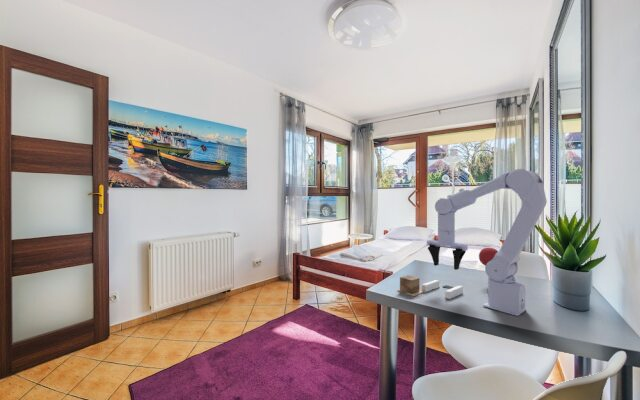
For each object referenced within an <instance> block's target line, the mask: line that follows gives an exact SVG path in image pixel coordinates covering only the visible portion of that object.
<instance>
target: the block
mask: <svg viewBox="0 0 640 400" xmlns="http://www.w3.org/2000/svg"><path fill="white" fill-rule="evenodd" d="M399 289H400V291H403V292H406V293H410V294H413V293H416V292H419V290H420V277H417V276H415V275H409V274H406V275H402V276H400V277H399Z"/></svg>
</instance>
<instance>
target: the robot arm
mask: <svg viewBox="0 0 640 400" xmlns="http://www.w3.org/2000/svg"><path fill="white" fill-rule="evenodd" d="M544 186H545V185H544V180H543V179H542V178H541V177H540V176H539V174H538V173H536V172H534V171H531V170H526V169H523V168H516V169H513V170H511V171H510V172H506V173H503V174H501V175H499V176H497V177H495V178H493V179H491V180H489V181H487V182H484V183H483V184H481V185H479V186H477V187H475V188H473V189H469V188H460V189H459V190H458V192H456V193H454V194H449V195H447V196H446V198H444V197H442V198H439V199H437V201H436V202H435V203H434V208H435V211H436V212H437V240H435V239H434V240H431V239H429V240H428V239H427V240H426V246H427V250H428V251H429V254H430V256H431V258H432V261H433V266H439V265H440V262H439V261H440V251H441V248H444V249H445V248H446V249H452V256H453V270H454V271H455V270H459V269H460V266H461V265H460V264H461V261H462V259H463V257H464V256H465V254H466V252H467V251H468V247H469V246H468V244H463V243H459V242H456V240H455V239H456V237H455V235H456V234H455V231H456V229H455V227H456V226H455V225H456V224H455V223H456V221H455V220H456V217H455V215H456V214H455V213H457V211H459V210H461V209H463V208H467V207H469V206H471V205H474V204H475V203H476V201H477V199H478V198H481V197H483V196H486V195H488V194H492V193H494V192H496V191H498V190H502V189H503V190H511V191H513V192H514V193H516V194H517V196H518V197H519V199H520V201H521V202H522V205H521V208H520V209H519V211H518V213H517V215H516V216H515V220H514V221H513V223H512V225H511V227H510V229H509V231H508V232H507V235H506V237H505V239H504V241H503V243H502V245H501V247H500V249H499V250H497V251H498V252H497V253H496V255H495V256H494V258H493V259H492V260H491V261H489V262H488V263H487V264H486V266H485V265H484V266H485V268H484V271H485V273H486V275H487V276H488V277H487V278H488V279H487V281H488V282H487V284H488V285H487V287H488V289H487V292H488V293H487V299H488V301H487V302H485V303H484V304H482V307H486V308H488V309H492V310H495V311H498V312H502V313H506V314H508V315H513V316H517V317H518V316H520V315H521V314H522V313H524V312H525V311H526V310H527V308H526V287H525V284H523V283H519V282H517V281H516V277H515V275H516V274H517V273H518V263H519V261H520V254H521V252H522V251H523V248H524V246H526V242H527V241H528V239H529V237H530V236H531V234H532V231H533V230H534V228H535V226H536V225H537V223H538V221H539V218H540V217H541V215H542V213H543V211H544V209H545V207H546V205H547V197H546V192H545V188H544Z"/></svg>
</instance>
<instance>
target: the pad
mask: <svg viewBox="0 0 640 400" xmlns="http://www.w3.org/2000/svg"><path fill="white" fill-rule="evenodd" d="M396 291H397V292H399V293H403V294H406V295H409V296H411V297H415V296H417V295H420V294H423V292H424V291H422V289H419V292H416V293H413V294H410V293H406V292H403V291H400V288H398V289H397V290H396ZM424 293H425V292H424Z"/></svg>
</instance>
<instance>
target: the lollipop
mask: <svg viewBox="0 0 640 400" xmlns="http://www.w3.org/2000/svg"><path fill="white" fill-rule="evenodd" d="M498 251H499V250H497V249H495V248H493V247H484V248H482V249H480V252H479V253H478V259H479V262H480V263H481V264H482V265H483V266H486V264H487V263H488V262H489V261H491V260H492V259H493V258H494V256H495V255H496V253H497V252H498Z"/></svg>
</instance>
